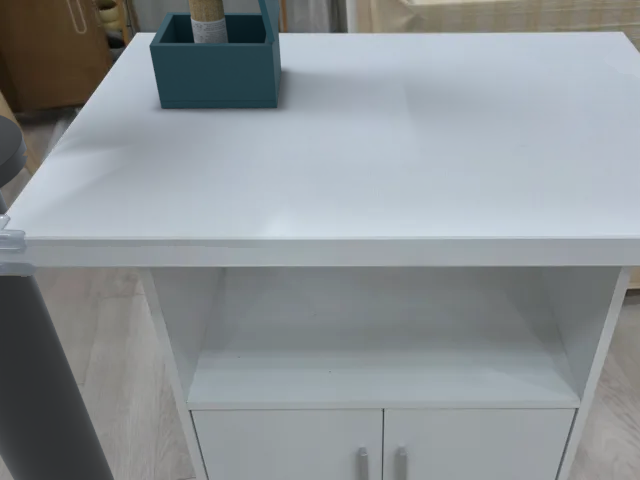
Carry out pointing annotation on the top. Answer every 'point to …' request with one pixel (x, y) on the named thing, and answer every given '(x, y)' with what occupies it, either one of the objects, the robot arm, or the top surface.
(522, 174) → the top surface
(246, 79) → the teal hollow box
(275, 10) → the lid
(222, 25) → the sprinkles bottle
